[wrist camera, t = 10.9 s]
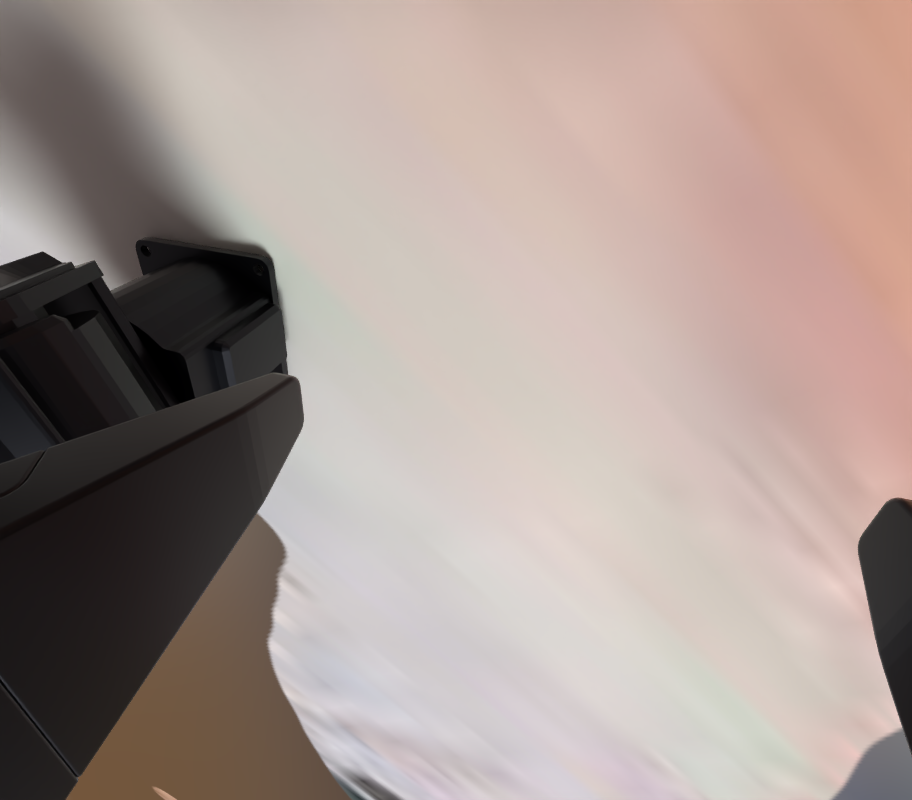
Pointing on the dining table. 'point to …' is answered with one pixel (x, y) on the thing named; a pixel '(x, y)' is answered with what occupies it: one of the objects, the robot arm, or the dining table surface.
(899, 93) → the dining table surface
